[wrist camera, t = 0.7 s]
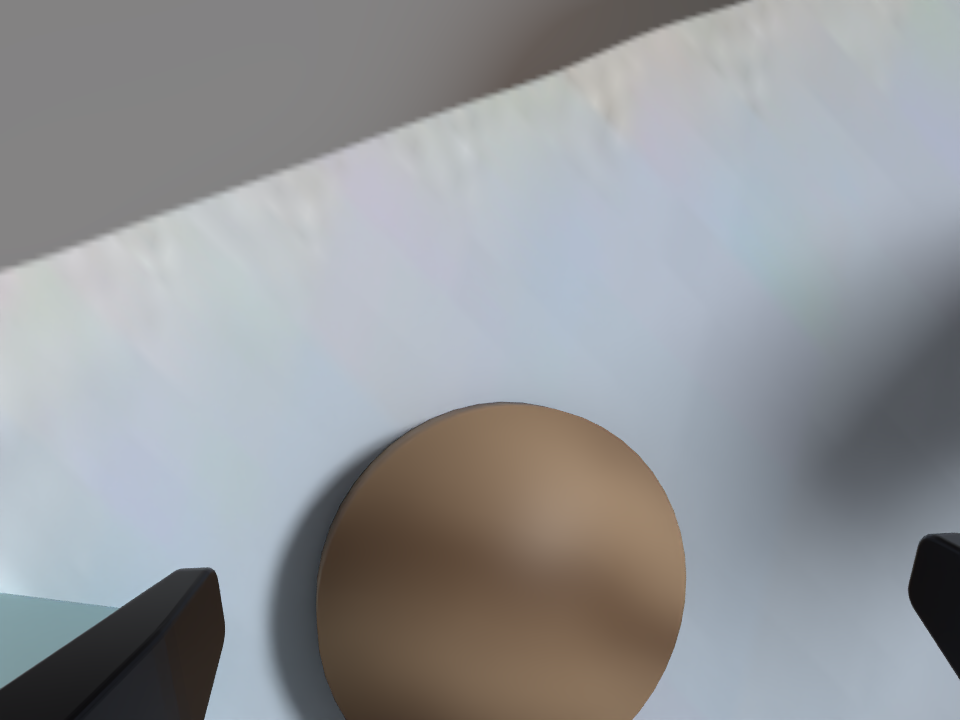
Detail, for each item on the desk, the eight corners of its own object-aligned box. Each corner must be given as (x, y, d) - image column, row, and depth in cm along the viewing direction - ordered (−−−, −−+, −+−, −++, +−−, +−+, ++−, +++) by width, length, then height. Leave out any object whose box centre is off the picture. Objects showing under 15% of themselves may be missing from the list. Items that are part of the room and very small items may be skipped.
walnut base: (618, 774, 23) (640, 803, 21) (273, 745, 20) (270, 777, 18) (695, 443, 23) (720, 450, 22) (369, 363, 20) (374, 365, 19)
